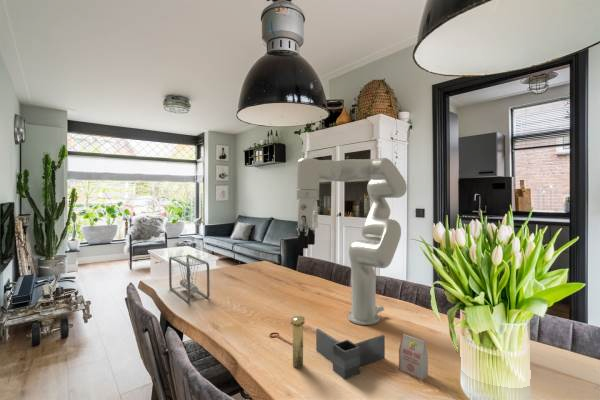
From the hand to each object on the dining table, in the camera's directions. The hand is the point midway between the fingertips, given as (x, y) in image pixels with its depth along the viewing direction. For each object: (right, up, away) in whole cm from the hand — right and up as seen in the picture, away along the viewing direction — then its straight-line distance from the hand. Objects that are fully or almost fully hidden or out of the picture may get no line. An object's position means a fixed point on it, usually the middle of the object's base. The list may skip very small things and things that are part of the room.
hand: (306, 246), depth 106 cm
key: (-7, -34, +3) cm, 34 cm away
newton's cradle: (-59, -33, +55) cm, 87 cm away
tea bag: (+30, -33, -17) cm, 48 cm away
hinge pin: (-3, -33, -13) cm, 36 cm away
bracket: (+13, -33, -8) cm, 37 cm away
